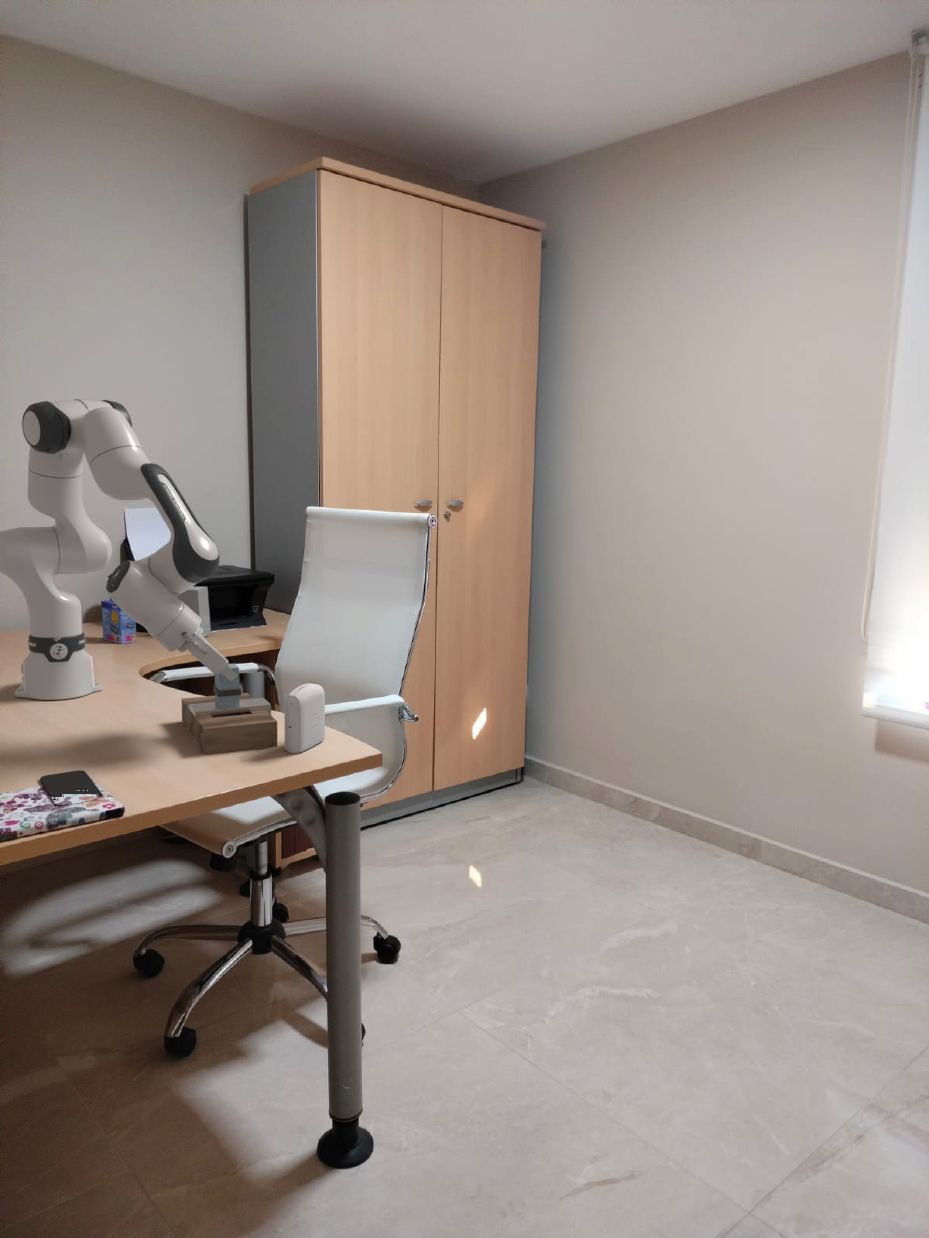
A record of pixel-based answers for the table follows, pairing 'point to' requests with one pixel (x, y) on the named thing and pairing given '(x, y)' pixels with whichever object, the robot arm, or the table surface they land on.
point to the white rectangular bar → (244, 706)
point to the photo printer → (304, 718)
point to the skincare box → (198, 605)
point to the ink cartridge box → (117, 624)
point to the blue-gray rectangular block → (227, 689)
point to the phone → (69, 784)
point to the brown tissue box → (229, 728)
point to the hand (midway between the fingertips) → (230, 674)
